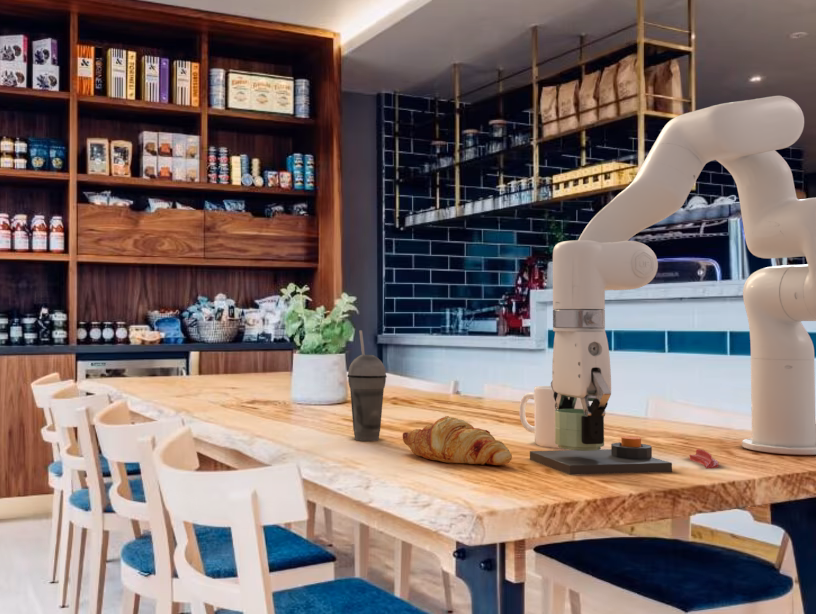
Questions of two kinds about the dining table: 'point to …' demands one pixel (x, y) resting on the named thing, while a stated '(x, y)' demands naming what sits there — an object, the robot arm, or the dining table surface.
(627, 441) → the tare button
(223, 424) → the dining table surface
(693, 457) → the cayenne pepper
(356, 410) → the beverage cup
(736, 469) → the dining table surface
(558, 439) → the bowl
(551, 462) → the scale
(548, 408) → the cup
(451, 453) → the croissant
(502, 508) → the dining table surface
